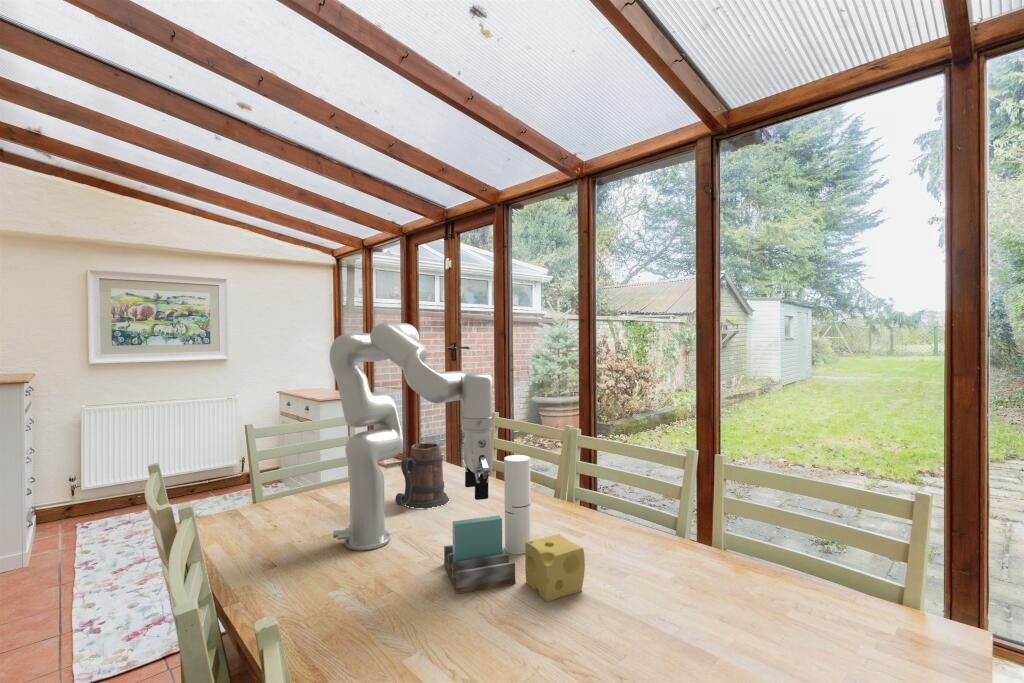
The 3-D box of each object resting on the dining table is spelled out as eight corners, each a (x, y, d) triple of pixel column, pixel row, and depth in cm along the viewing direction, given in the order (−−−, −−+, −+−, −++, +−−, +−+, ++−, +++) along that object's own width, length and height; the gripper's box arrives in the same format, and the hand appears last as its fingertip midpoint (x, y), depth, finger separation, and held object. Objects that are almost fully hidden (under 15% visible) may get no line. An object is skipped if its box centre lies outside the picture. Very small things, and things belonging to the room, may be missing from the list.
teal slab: (455, 574, 117) (454, 524, 117) (452, 570, 119) (452, 521, 119) (502, 566, 120) (502, 518, 120) (499, 562, 123) (499, 515, 123)
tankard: (422, 491, 185) (421, 438, 185) (459, 497, 177) (458, 443, 177) (378, 510, 164) (378, 451, 164) (418, 519, 156) (417, 457, 156)
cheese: (546, 603, 106) (546, 557, 106) (523, 581, 116) (522, 539, 116) (585, 591, 111) (585, 548, 111) (559, 571, 120) (559, 531, 120)
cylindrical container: (528, 555, 129) (527, 461, 129) (502, 553, 131) (501, 460, 131) (532, 544, 136) (532, 455, 136) (507, 542, 138) (507, 454, 138)
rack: (457, 594, 110) (457, 573, 110) (444, 564, 125) (443, 545, 125) (515, 583, 115) (515, 563, 115) (496, 555, 129) (495, 538, 129)
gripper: (502, 429, 113) (501, 502, 113) (482, 417, 129) (481, 481, 129) (470, 431, 110) (470, 506, 110) (454, 418, 126) (453, 483, 127)
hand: (476, 492), depth 120 cm, fingers open, 9 cm apart
